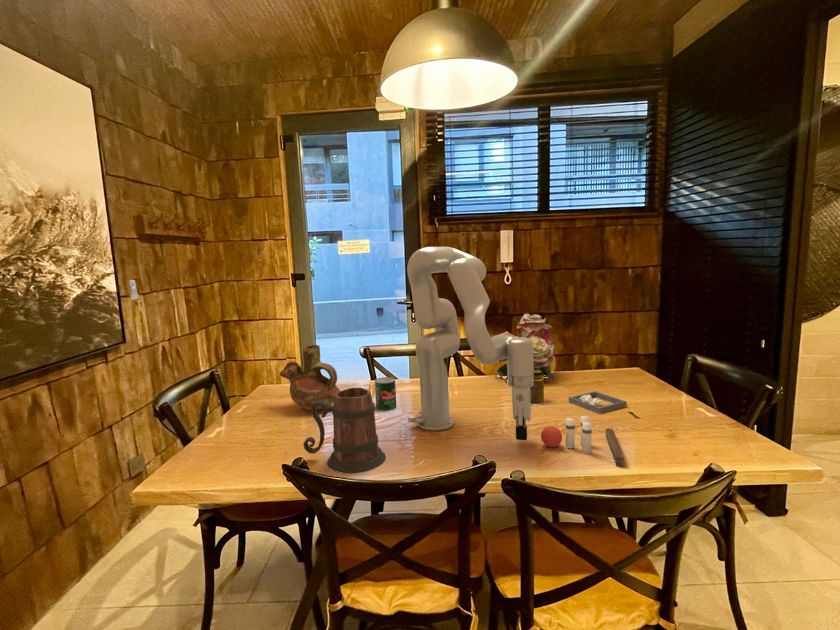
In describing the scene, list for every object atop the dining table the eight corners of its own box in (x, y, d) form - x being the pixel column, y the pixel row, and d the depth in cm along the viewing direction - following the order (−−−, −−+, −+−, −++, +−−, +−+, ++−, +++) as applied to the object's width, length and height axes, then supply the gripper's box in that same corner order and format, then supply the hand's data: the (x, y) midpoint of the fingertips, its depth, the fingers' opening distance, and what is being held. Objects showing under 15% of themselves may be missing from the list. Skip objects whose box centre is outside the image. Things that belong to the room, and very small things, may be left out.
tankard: (389, 446, 138) (386, 383, 135) (381, 473, 121) (377, 401, 118) (314, 447, 139) (309, 384, 137) (296, 474, 123) (290, 403, 120)
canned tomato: (387, 412, 168) (385, 383, 166) (371, 408, 172) (370, 381, 171) (400, 406, 174) (399, 378, 172) (385, 403, 179) (384, 376, 177)
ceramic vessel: (293, 400, 187) (288, 340, 184) (351, 402, 181) (348, 341, 177) (270, 414, 171) (264, 349, 167) (334, 418, 164) (329, 350, 161)
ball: (558, 434, 128) (547, 451, 130) (569, 435, 132) (559, 451, 133) (543, 421, 133) (533, 437, 134) (555, 422, 136) (545, 438, 138)
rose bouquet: (485, 377, 210) (483, 313, 206) (537, 369, 220) (537, 308, 216) (515, 391, 186) (515, 320, 182) (573, 382, 197) (573, 314, 193)
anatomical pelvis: (604, 396, 165) (592, 398, 162) (603, 407, 165) (591, 409, 162) (586, 391, 172) (574, 392, 169) (585, 401, 172) (573, 403, 169)
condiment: (548, 401, 173) (548, 370, 172) (536, 406, 168) (536, 375, 166) (531, 397, 179) (531, 367, 177) (519, 402, 173) (519, 372, 171)
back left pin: (585, 447, 132) (585, 419, 131) (578, 444, 134) (578, 416, 133) (591, 445, 133) (591, 417, 132) (584, 442, 135) (585, 415, 134)
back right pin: (586, 454, 127) (587, 425, 126) (580, 451, 129) (580, 423, 128) (593, 452, 128) (593, 424, 127) (586, 449, 130) (586, 421, 129)
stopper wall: (616, 466, 120) (616, 457, 119) (605, 436, 139) (605, 428, 139) (624, 466, 119) (624, 457, 119) (612, 436, 138) (612, 428, 138)
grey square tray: (599, 413, 158) (599, 408, 157) (568, 402, 171) (568, 397, 170) (626, 406, 164) (626, 401, 163) (594, 396, 177) (594, 391, 176)
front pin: (570, 449, 130) (570, 421, 129) (563, 446, 133) (563, 419, 132) (576, 447, 132) (576, 420, 130) (570, 444, 134) (570, 417, 133)
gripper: (533, 387, 125) (534, 450, 127) (533, 373, 139) (534, 430, 142) (505, 386, 127) (507, 448, 129) (509, 372, 141) (510, 428, 144)
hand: (521, 438), depth 135 cm, fingers closed
